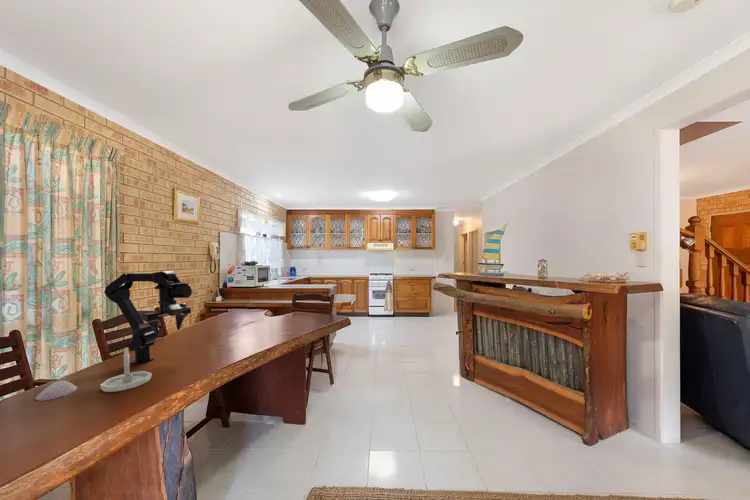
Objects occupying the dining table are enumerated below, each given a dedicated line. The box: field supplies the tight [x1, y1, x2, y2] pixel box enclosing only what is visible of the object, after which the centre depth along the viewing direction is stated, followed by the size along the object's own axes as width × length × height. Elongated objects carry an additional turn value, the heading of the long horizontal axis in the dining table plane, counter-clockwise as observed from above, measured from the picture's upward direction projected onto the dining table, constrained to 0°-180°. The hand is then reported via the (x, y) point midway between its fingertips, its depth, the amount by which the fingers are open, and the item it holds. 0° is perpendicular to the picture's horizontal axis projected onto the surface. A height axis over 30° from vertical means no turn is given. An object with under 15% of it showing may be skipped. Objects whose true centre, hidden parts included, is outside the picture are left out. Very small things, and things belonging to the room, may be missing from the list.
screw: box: [119, 346, 135, 383], centre depth 116 cm, size 13×5×5 cm
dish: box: [99, 370, 153, 393], centre depth 116 cm, size 14×14×2 cm
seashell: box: [34, 380, 78, 402], centre depth 109 cm, size 10×6×10 cm
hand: (167, 332), depth 139 cm, fingers open, 9 cm apart
